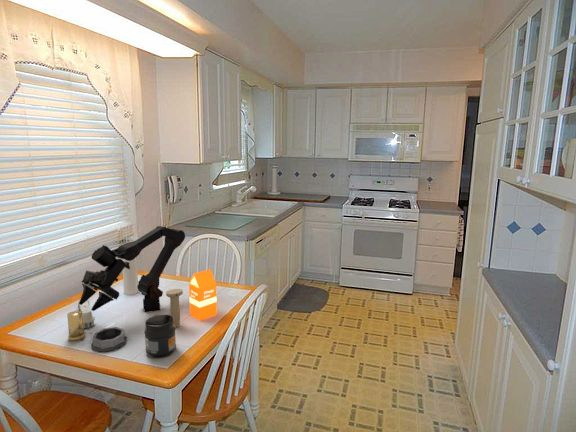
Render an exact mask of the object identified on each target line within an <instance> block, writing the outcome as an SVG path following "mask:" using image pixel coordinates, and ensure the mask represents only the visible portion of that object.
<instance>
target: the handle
mask: <svg viewBox="0 0 576 432" xmlns="http://www.w3.org/2000/svg"><path fill="white" fill-rule="evenodd" d="M183 294H184V293H183V289H181V288H173V289H169V290H167V291H166V292H165V295H166V297H168V298H170V299H169V300H170V302H169V303H170V305H169V306H170V307H169V315H170V316H172V317H173V318H174V325H175V327H176V328H178V327H180V325H181V305H180V296H182V295H183Z"/></svg>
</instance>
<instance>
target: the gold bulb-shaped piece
mask: <svg viewBox="0 0 576 432" xmlns="http://www.w3.org/2000/svg"><path fill="white" fill-rule="evenodd" d="M66 314H67V315H66V316H67V317H66V318H67V328H68V342H71V343H75V342H80V341H83V340H84V339H86V331H85V328H84V325H83V313H82V311H80V310H73V311H70V312H68V313H66Z"/></svg>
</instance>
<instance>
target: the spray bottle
mask: <svg viewBox="0 0 576 432" xmlns="http://www.w3.org/2000/svg"><path fill="white" fill-rule="evenodd" d="M137 257H138V256H137ZM137 257H136V258H135V259H133V260H131V261H128V260H125V259H121V260H123V261H124V262H129V266H130V269H127V268H124V269H123V270H122V282H123V284H122V285H123V293H124V295H129V296H130V295H136V294H138V293H139V291H138V288H137V286H138V284H139V283H138V282H139V277H138V262H137Z"/></svg>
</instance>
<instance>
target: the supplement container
mask: <svg viewBox="0 0 576 432" xmlns="http://www.w3.org/2000/svg"><path fill="white" fill-rule="evenodd" d="M144 324H145V325H144V326H145V328H144V333H143V334H144V343H145V344H144V345H145V349H144V350H145V353H146V355H147V356H148V357H151V358H155V359H159V358H161V359H162V358H165V357H168V356H170V355H171V354H173V353H174V352H175V351H176V348H177V339H176V338H177V337H176V328H177V327H175V325H174V318H173V317H172V316H170V314H163V313H162V314H157V315H153V316H150V317H148V318H147V319H146V320H145V322H144Z"/></svg>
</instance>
